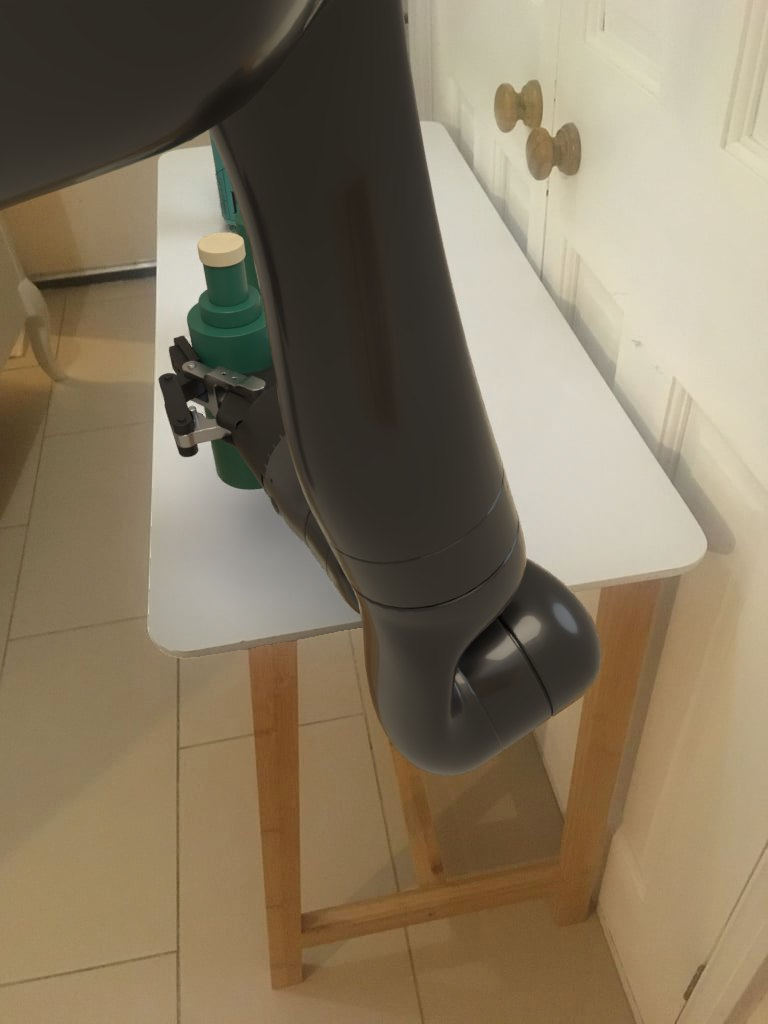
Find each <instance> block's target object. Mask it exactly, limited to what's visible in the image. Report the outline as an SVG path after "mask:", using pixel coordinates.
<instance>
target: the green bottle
mask: <svg viewBox="0 0 768 1024" xmlns="http://www.w3.org/2000/svg"><path fill="white" fill-rule="evenodd" d="M196 245H197V246H196V247H197V251H198V253H197V254H198V259H199V261H200V263H201V264H202V267H203V273H204V278H205V285H206V289H205V290H204V291H203V292H201V294H200V295H199V297H198V301H197V303H195V304H194V305H193V306H192V307H191V308H190V309H189V310H188V312H187V315H186V323H187V328H188V333H189V338H190V345H191V346H192V348H193V349H194V351H195V352H196V353H197V355H198V356H199V357H200V360H201V363H202V364H205V365H207V366H209V367H212V368H216V367H217V366H219V365H221V366H224V367H226V368H228V369H231V370H233V371H235V372H238V373H240V374H245V373H249V372H256V371H261V370H263V369H265V368H267V367H269V366H272V365H273V361H272V354H271V347H270V342H269V336H268V330H267V324H266V319H265V313H264V307H263V302H262V297H261V295H260V294H259V292H258V291H257V289H255V288H254V287H252V286H250V285H247V278H246V271H245V264H244V258H245V255H246V254H245V246H244V240H243V238H242V237H241V236H239V235H237V233H234V232H229V231H227V232H224V231H221V232H214V233H210V234H207V235H205V236H203V237H201V238H200V239H199V240H198V241H197V243H196ZM203 410H204V416H205V417H206V418H208V419H215V417H214V416H213V415H212V413H211V411H210V410H209V409H208V408H206V407H204V406H203ZM210 446H211V451H212V457H213V460H214V466H215V471H216V474H217V476H218V478H219V479H220V480H221V482H223V483H224V484H225V485H227V486H229V487H231V488H235V489H238V490H243V491H256V490H262V489H263V488H262V486H261V485H260V483H259V482H258V480H257V479H256V477H255V476H254V474H253V473H252V472H251V470H250V469H249V467H248V466H247V464H246V463H245V461H244V460H243V458H242V456H241V455H240V453H239V451H238V450H237V449H236V448H235V447H233V446H231V445H228V444H226V443H224V442H223V441H222V440H221V439H216V440H212V441H210Z"/></svg>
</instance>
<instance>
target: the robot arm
mask: <svg viewBox="0 0 768 1024" xmlns="http://www.w3.org/2000/svg"><path fill="white" fill-rule="evenodd" d="M407 36H408V35H407V29H406V20H405V13H404V4H403V0H0V211H4V210H6V209H9V208H11V207H14V206H18V205H20V204H23V203H26V202H28V201H31V200H34V199H36V198H37V199H38V198H40V197H43V196H45V195H48V194H52V193H55V192H58V191H60V190H65V189H66V188H69V187H72V186H75V185H78V184H81V183H85V182H87V181H90V180H94V179H95V178H98V177H101V176H105V175H107V174H109V173H112V172H116V171H118V170H121V169H124V168H126V167H130V166H132V165H135V164H138V163H140V162H143V161H146V160H148V159H152V158H154V157H156V156H158V155H161V154H164V153H166V152H169V151H171V150H173V149H175V148H177V147H180V146H182V145H185V144H187V143H189V142H191V141H193V140H195V139H196V138H197V137H199V136H201V135H203V134H204V133H206V132H207V131H208V133H209V132H210V134H211V137H212V139H213V141H214V143H215V146H216V148H217V150H218V152H219V155H220V157H221V159H222V162H223V165H224V167H225V170H226V172H227V175H228V178H229V180H230V183H231V185H232V188H233V191H234V194H235V197H236V200H237V203H238V206H239V209H240V212H241V216H242V219H243V223H244V227H245V230H246V234H247V238H248V241H249V245H250V249H251V252H252V256H253V260H254V264H255V269H256V273H257V278H258V283H259V288H260V293H261V297H262V302H263V307H264V313H265V319H266V324H267V330H268V336H269V342H270V347H271V354H272V361H273V365H272V366H269V367H267V368H265V369H263V370H261V371H256V372H249V373H245V374H240V373H238V372H235V371H233V370H231V369H228V368H226V367H224V366H221V365H219V366H217V367H216V368H212V367H209V366H207V365H205V364H202V363H201V360H200V357H199V356H198V355H197V353H196V352H195V351H194V349H193V348H192V344H191V342H189V341H188V339H187V338H186V336H185V335H180V336H177V337H173V345H170V346H168V354H169V359H170V363H171V368H172V370H173V371H174V372H167V373H163V374H161V375H160V376H159V377H158V383H159V387H160V391H161V394H162V398H163V402H164V405H163V406H164V409H165V413H166V417H167V420H168V422H169V427H170V430H171V433H172V435H173V439H174V442H175V446H176V448H177V452H178V455H179V456H181V457H182V458H191V457H194V456H196V455H197V454H198V453H199V446H198V444H199V445H200V444H203V443H208V442H211V441H212V440H216V439H221V440H222V441H223V442H224V443H226V444H228V445H231V446H233V447H235V448H236V449H237V450H238V451H239V453H240V455H241V456H242V458H243V460H244V461H245V463H246V464H247V466H248V467H249V469H250V470H251V472H252V473H253V474H254V476H255V477H256V479H257V480H258V482H259V483H260V485H261V486H262V489H263V491H264V492H265V494H266V495H267V497H268V498H269V502H270V504H271V505H272V507H273V510H274V511H275V512H276V514H277V515H278V516H280V517H281V518H282V519H283V520H284V522H285V523H286V525H287V526H288V527H289V529H290V530H291V531H292V533H293V534H295V536H297V538H298V539H299V540H300V541H302V543H304V545H305V546H306V547H307V548H308V550H309V551H310V552H311V553H312V555H313V557H314V558H315V559H316V561H317V562H318V564H319V565H320V568H321V569H322V570H323V571H324V573H325V574H326V576H327V577H328V578H329V580H330V581H331V583H332V584H333V586H334V588H335V589H336V591H337V592H338V593H339V595H340V596H341V598H342V599H343V600H344V601H345V603H346V604H347V605H348V606H349V607H350V608H351V609H352V610H353V611H354V612H355V613H357V614H358V615H359V616H360V619H361V625H362V636H363V637H362V638H363V655H364V667H365V674H366V679H367V686H368V690H369V695H370V699H371V703H372V706H373V709H374V712H375V715H376V717H377V720H378V723H379V724H380V727H381V729H382V730H383V732H384V734H385V736H386V737H387V739H388V740H389V742H390V744H391V745H392V746H393V748H394V749H395V750H396V751H397V753H398V754H399V755H400V756H401V757H402V758H403V759H405V761H406V762H408V763H409V764H411V765H412V766H413V767H415V768H417V769H419V770H421V771H423V772H425V773H428V774H431V775H436V776H441V777H457V776H461V775H465V774H468V773H470V772H473V771H474V770H477V769H479V768H481V767H482V766H484V765H485V764H486V763H488V762H490V761H492V759H494V758H495V757H497V756H498V755H500V754H501V753H502V752H503V751H505V750H507V749H509V748H510V747H512V746H513V745H514V744H516V743H517V742H519V741H520V740H521V739H523V738H525V737H526V736H527V735H529V734H530V733H532V732H533V731H534V730H536V729H537V728H539V727H540V726H542V725H543V724H544V723H547V722H548V721H549V720H550V719H551V718H552V717H555V716H557V715H559V714H560V713H561V712H563V711H565V710H566V709H567V708H568V707H570V706H571V705H573V704H574V703H576V702H577V701H578V700H580V699H582V698H583V697H584V696H585V695H586V694H587V693H588V692H589V691H590V690H591V689H592V688H593V687H594V685H595V684H596V682H597V680H598V678H599V677H600V672H601V669H602V664H603V649H602V647H603V646H602V643H601V638H600V634H599V631H598V628H597V625H596V623H595V621H594V619H593V617H592V615H591V613H590V611H589V610H588V608H587V607H586V605H585V604H584V603H583V602H582V600H581V599H580V598H579V597H578V596H577V594H576V593H575V592H573V590H571V588H570V587H569V586H567V584H565V582H563V581H562V580H561V579H560V578H559V577H557V576H556V575H554V574H553V573H552V572H551V571H549V570H548V569H546V568H545V567H543V566H542V565H540V564H539V563H537V562H536V561H534V560H532V559H531V558H529V557H527V547H526V546H527V545H526V540H525V539H526V538H525V534H524V530H523V527H522V523H521V520H520V516H519V514H518V509H517V506H516V503H515V499H514V496H513V492H512V490H511V486H510V483H509V480H508V476H507V472H506V470H505V466H504V463H503V462H504V461H503V460H502V456H501V453H500V450H499V446H498V443H497V440H496V437H495V434H494V430H493V428H492V425H491V421H490V418H489V414H488V411H487V408H486V404H485V401H484V398H483V394H482V391H481V388H480V384H479V381H478V378H477V374H476V371H475V367H474V363H473V360H472V355H471V353H470V349H469V346H468V342H467V338H466V333H465V329H464V325H463V320H462V317H461V314H460V308H459V304H458V301H457V296H456V292H455V289H454V285H453V284H454V283H453V282H452V281H453V280H452V275H451V272H450V267H449V263H448V258H447V255H446V250H445V245H444V241H443V235H442V232H441V231H442V230H441V227H440V226H441V225H440V222H439V221H440V220H439V218H438V212H437V207H436V203H435V196H434V192H433V187H432V182H431V177H430V172H429V171H430V170H429V165H428V161H427V155H426V150H425V145H424V144H425V143H424V139H423V132H422V127H421V123H420V122H421V121H420V115H419V110H418V103H417V98H416V97H417V96H416V92H415V86H414V78H413V72H412V64H411V59H410V53H409V45H408V38H407ZM210 134H209V135H210ZM190 401H191V402H192V403H195V404H197V405H199V406H201V407H203V408H204V407H206V408H208V409H209V410H210V411H211V413H212V415H213V416H214V417H215V419H208V418H206V416H205V415H204V414H203V413H202V412H199V411H198V410H197V407H196V406H195V405H191V406H189V407H188V402H190Z"/></svg>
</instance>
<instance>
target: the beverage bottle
mask: <svg viewBox="0 0 768 1024" xmlns="http://www.w3.org/2000/svg"><path fill="white" fill-rule="evenodd" d="M208 134H209V139H210V145H211V152H212V157H213V158H212V159H213V163H214V171H215V174H214V175H215V180H216V181H215V182H216V187H217V188H216V190H217V193H218V200H219V201H218V202H219V206H220V207H219V208H220V209H219V210H220V213H221V217H222V219H223V221H224V222H225V223H226V224H228V225H231V226H233V227H236V225H235V218H234V217H235V214H236V213H237V212H238V211H239V210H240V209H239V206H238V203H237V200H236V197H235V194H234V191H233V188H232V185H231V183H230V180H229V178H228V175H227V172H226V170H225V167H224V165H223V162H222V159H221V157H220V155H219V152H218V150H217V148H216V146H215V143H214V141H213V139H212V137H211V134H210V132H209V131H208Z"/></svg>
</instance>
